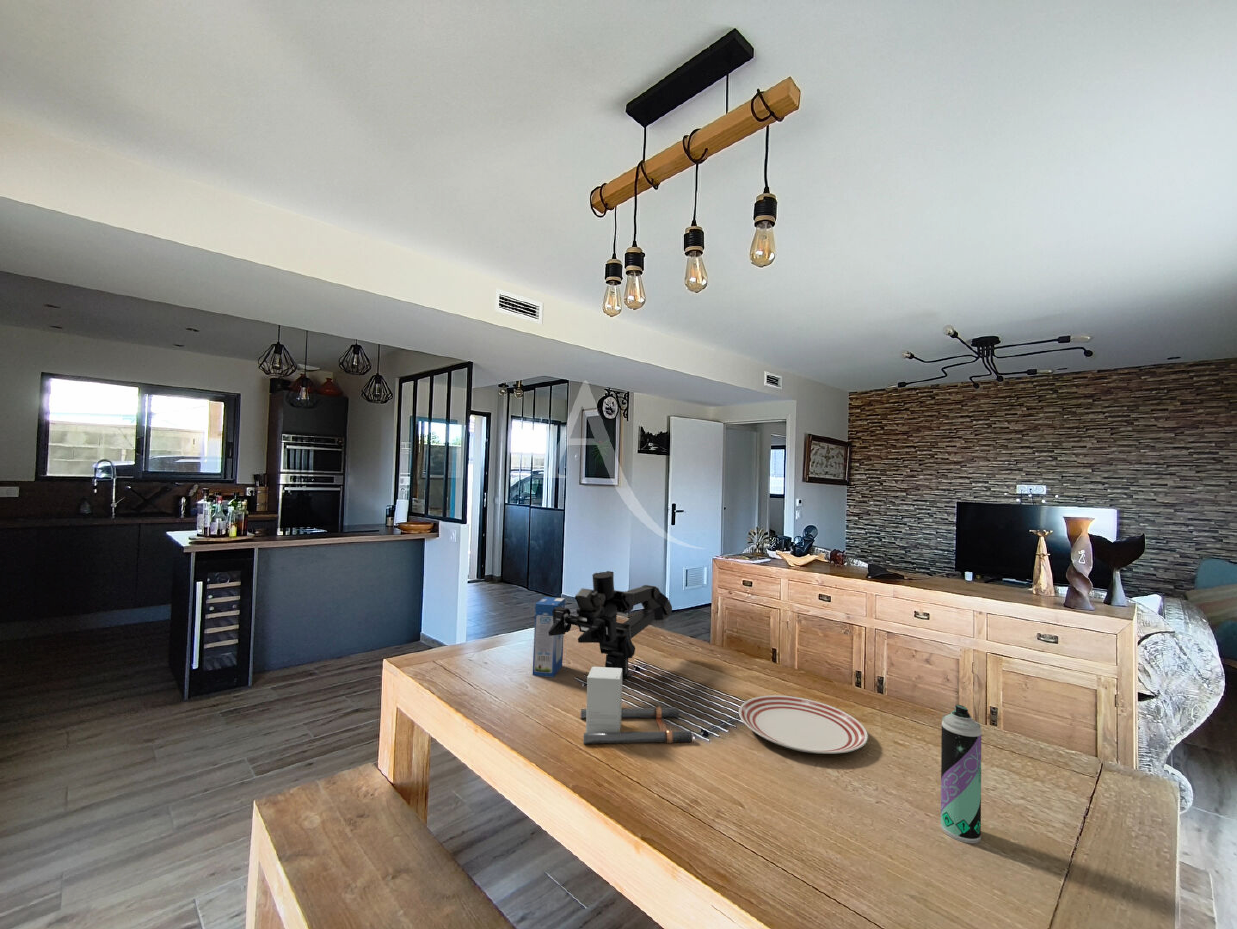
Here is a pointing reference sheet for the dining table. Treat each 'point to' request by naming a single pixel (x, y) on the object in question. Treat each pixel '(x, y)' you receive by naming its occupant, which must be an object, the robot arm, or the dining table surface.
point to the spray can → (961, 776)
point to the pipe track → (641, 737)
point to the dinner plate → (803, 724)
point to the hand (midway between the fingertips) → (563, 637)
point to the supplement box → (604, 700)
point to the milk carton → (547, 639)
